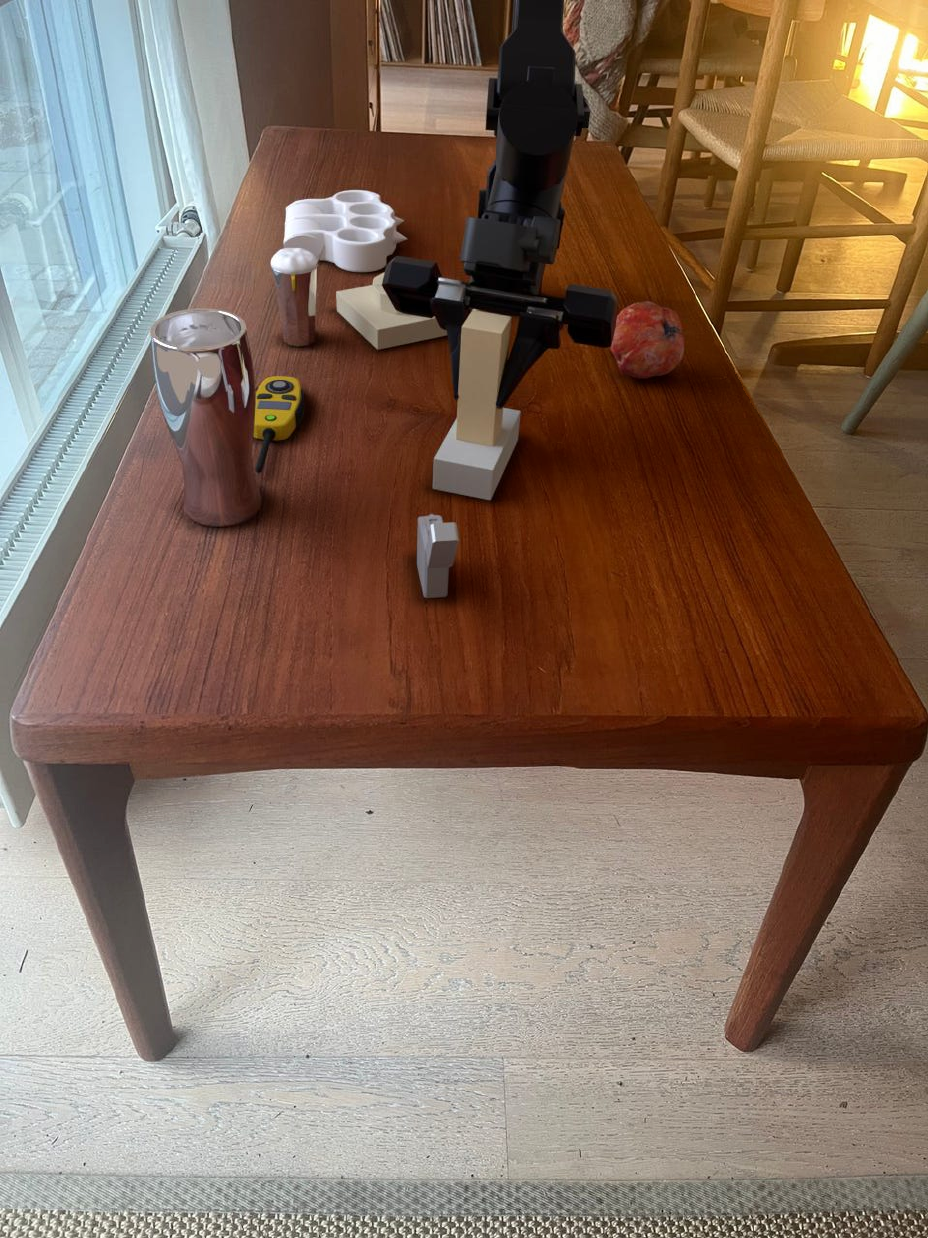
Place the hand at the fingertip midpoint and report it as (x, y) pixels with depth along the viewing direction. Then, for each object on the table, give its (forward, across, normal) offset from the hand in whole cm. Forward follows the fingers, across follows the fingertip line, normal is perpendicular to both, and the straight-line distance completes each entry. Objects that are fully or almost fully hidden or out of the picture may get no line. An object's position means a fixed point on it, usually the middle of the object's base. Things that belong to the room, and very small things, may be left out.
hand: (477, 403), depth 79 cm
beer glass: (+13, -18, -3) cm, 22 cm away
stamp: (+4, 0, +6) cm, 7 cm away
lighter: (+16, +2, -7) cm, 18 cm away
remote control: (+5, -18, +5) cm, 20 cm away
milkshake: (-8, -23, +17) cm, 30 cm away
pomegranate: (-12, +11, +21) cm, 27 cm away
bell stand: (-14, -14, +23) cm, 30 cm away
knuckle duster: (-26, -28, +36) cm, 52 cm away
